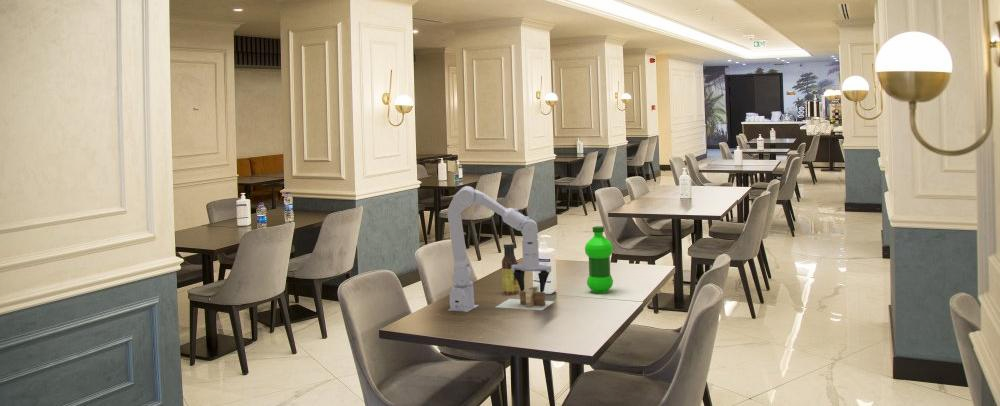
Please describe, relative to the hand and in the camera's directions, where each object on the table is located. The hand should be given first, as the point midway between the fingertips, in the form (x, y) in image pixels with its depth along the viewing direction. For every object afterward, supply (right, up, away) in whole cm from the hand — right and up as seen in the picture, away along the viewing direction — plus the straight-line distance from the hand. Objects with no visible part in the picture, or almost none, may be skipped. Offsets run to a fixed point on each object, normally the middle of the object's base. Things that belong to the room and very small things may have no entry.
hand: (532, 291), depth 270 cm
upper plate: (0, -5, +1) cm, 5 cm away
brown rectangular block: (0, -5, +1) cm, 5 cm away
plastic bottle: (+27, -3, +18) cm, 32 cm away
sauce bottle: (-7, -4, +20) cm, 22 cm away
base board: (-2, -6, +2) cm, 6 cm away
